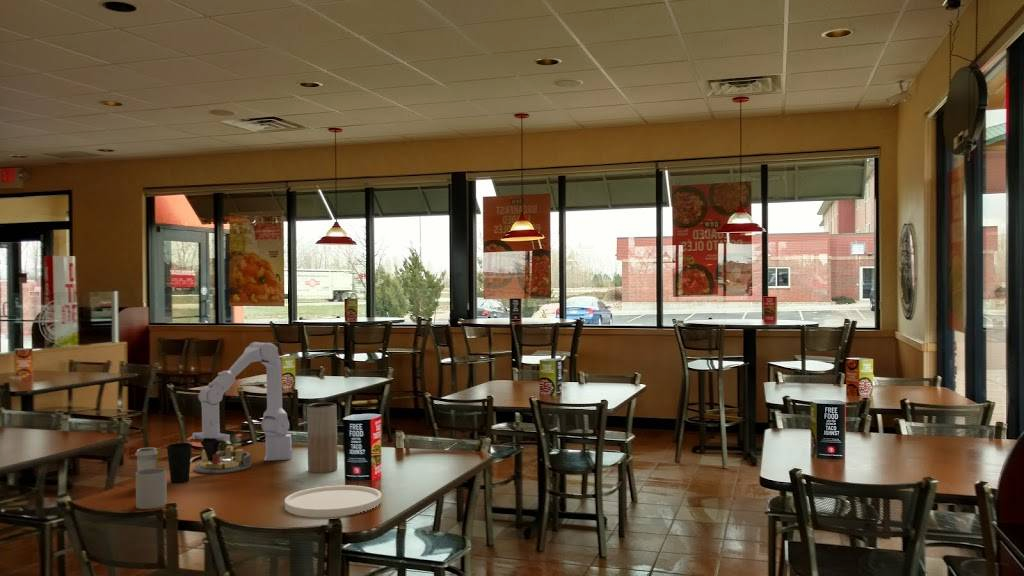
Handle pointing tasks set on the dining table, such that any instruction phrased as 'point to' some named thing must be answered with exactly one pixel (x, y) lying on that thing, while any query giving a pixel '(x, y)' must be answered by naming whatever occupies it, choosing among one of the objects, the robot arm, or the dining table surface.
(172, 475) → the cup
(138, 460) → the cup
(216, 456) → the ring nut
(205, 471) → the round serving tray
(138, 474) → the cup
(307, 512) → the plate
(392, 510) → the dining table surface
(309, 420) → the planter
